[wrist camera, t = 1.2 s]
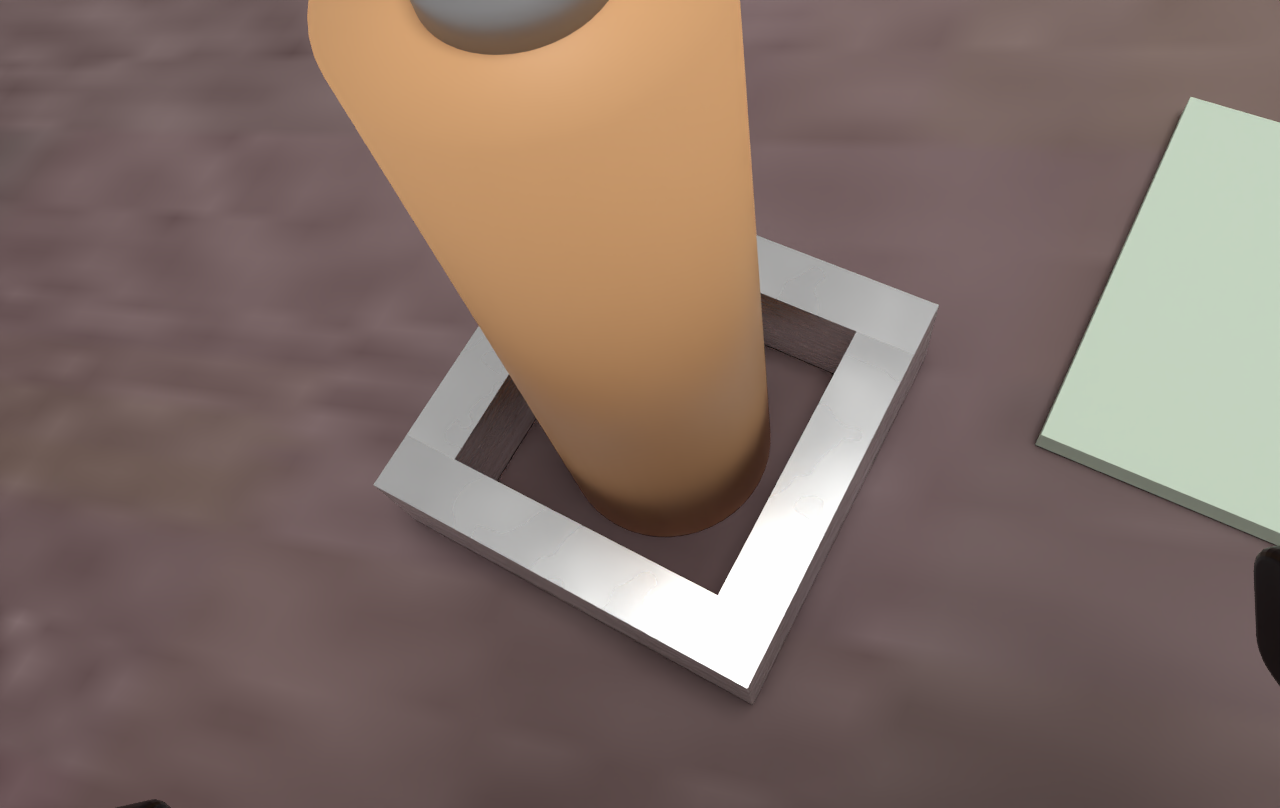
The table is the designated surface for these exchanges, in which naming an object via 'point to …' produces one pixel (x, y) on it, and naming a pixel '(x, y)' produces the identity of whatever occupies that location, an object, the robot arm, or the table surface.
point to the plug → (585, 222)
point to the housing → (786, 529)
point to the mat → (1190, 333)
